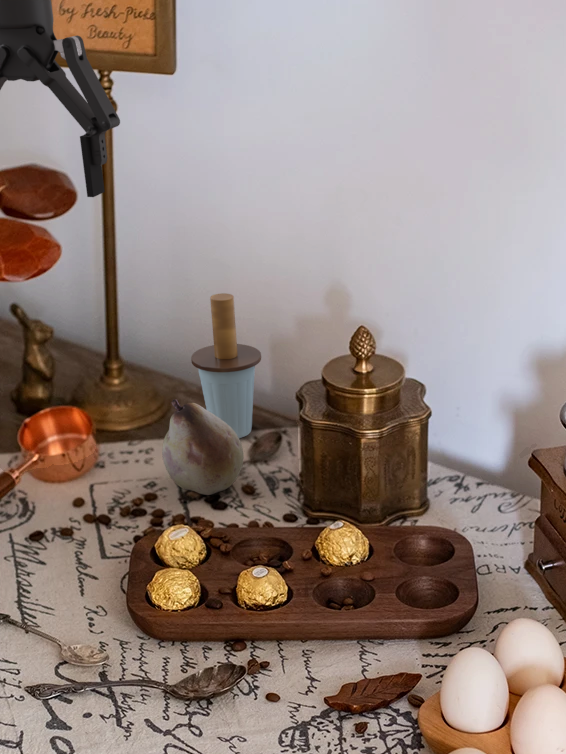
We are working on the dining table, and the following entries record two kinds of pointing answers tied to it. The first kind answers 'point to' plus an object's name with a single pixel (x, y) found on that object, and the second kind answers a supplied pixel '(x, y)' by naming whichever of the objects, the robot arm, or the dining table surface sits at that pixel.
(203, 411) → the fruit
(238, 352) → the lid
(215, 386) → the cup
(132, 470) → the dining table surface
